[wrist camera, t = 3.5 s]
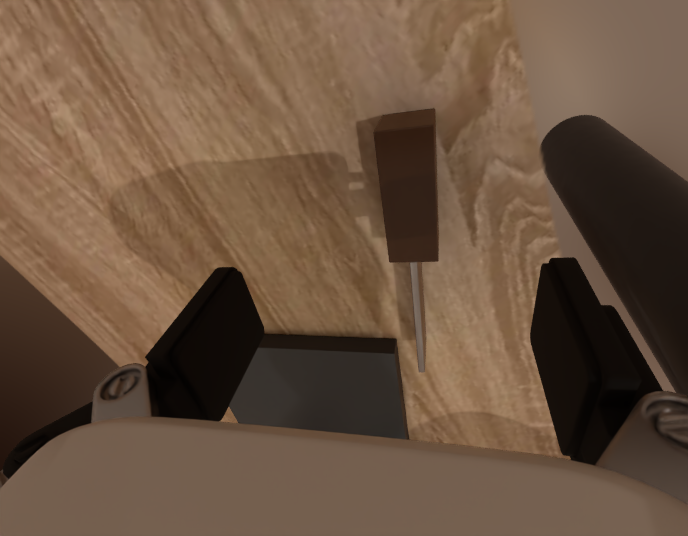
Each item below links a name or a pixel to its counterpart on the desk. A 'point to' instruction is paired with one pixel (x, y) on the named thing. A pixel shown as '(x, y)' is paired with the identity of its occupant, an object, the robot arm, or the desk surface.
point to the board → (324, 386)
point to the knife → (410, 199)
